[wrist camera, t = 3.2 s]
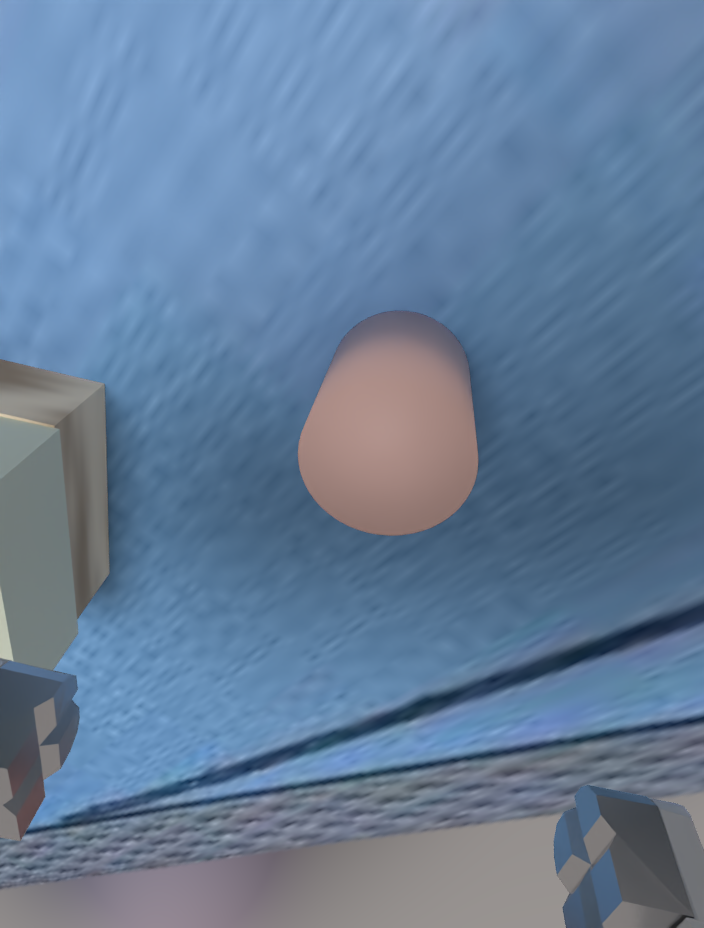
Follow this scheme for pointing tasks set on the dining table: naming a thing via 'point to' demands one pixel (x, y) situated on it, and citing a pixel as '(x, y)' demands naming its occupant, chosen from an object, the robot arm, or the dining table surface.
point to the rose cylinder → (392, 427)
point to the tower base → (70, 459)
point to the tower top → (34, 547)
